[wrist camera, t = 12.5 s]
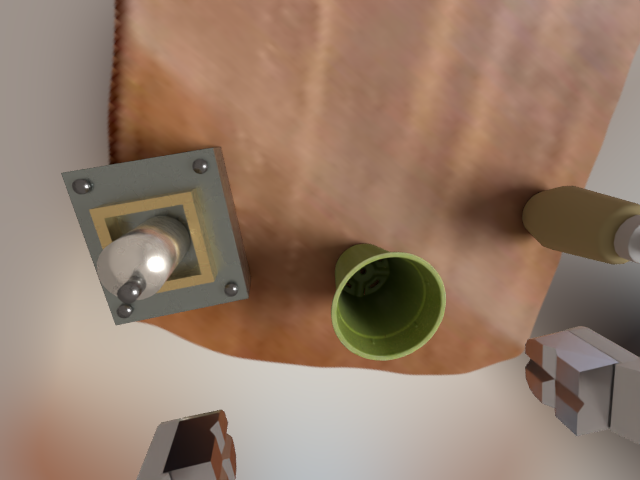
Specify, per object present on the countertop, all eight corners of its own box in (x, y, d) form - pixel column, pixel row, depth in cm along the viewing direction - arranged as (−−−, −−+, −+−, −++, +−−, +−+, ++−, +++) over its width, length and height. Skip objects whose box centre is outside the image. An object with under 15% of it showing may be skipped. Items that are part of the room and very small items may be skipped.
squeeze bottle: (539, 170, 46) (698, 187, 29) (580, 202, 48) (752, 235, 31) (501, 223, 48) (632, 269, 30) (543, 252, 50) (688, 311, 33)
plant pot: (303, 298, 47) (313, 345, 36) (337, 212, 44) (359, 235, 34) (384, 322, 49) (417, 373, 38) (420, 243, 47) (466, 273, 36)
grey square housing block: (91, 168, 39) (45, 175, 31) (220, 146, 40) (208, 148, 32) (135, 301, 44) (105, 337, 36) (251, 278, 45) (247, 308, 37)
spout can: (130, 221, 35) (73, 253, 25) (182, 211, 36) (147, 239, 25) (145, 268, 37) (97, 318, 26) (195, 258, 37) (167, 303, 27)
